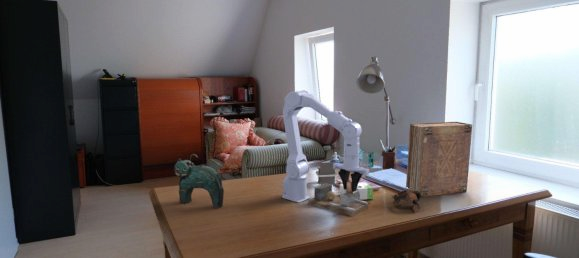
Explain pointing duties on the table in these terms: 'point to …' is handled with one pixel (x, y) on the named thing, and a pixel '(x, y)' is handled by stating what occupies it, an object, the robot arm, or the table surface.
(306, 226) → the table surface
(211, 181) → the ceramic cat
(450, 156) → the book
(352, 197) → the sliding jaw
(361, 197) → the ink box
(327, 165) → the architectural model
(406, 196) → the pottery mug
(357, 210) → the base
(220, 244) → the table surface
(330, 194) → the tan ball
